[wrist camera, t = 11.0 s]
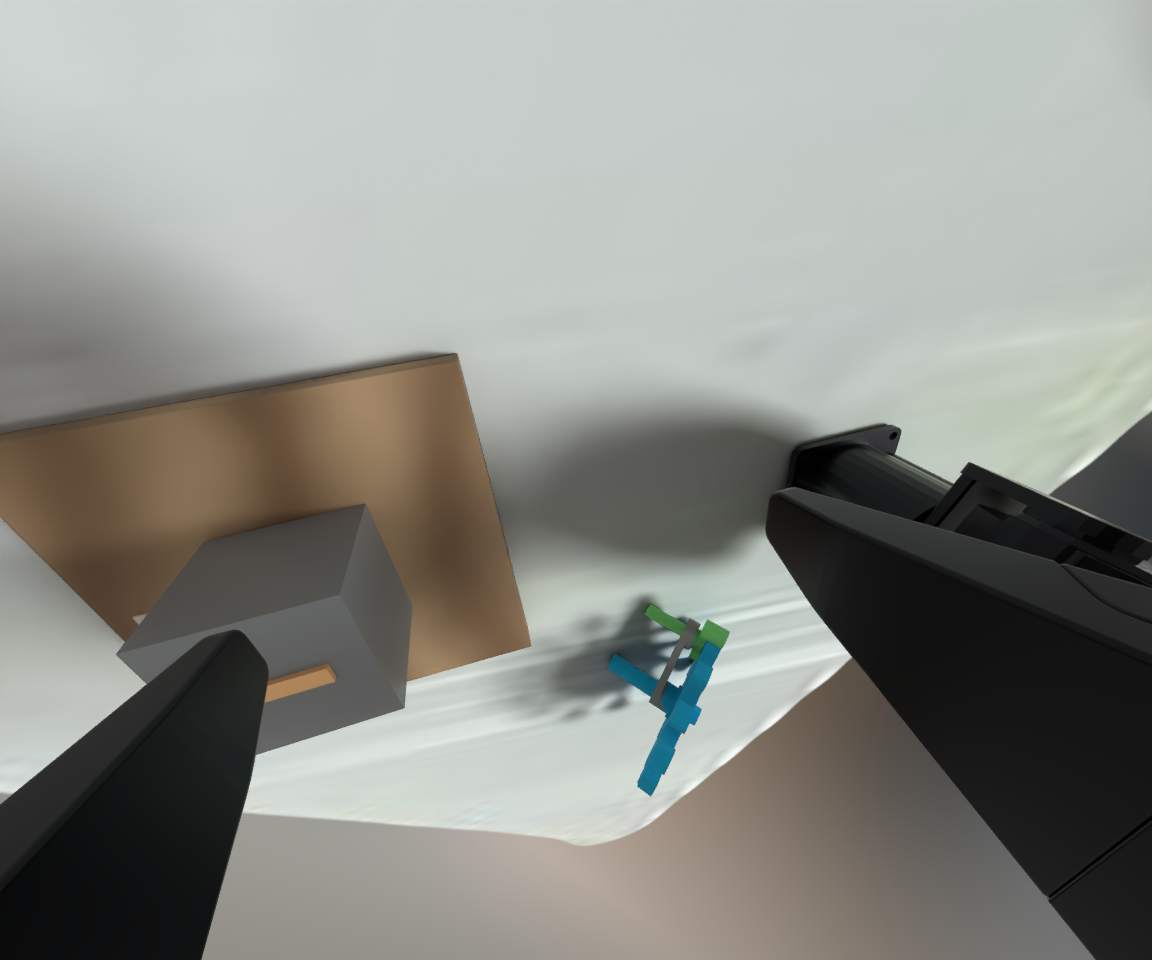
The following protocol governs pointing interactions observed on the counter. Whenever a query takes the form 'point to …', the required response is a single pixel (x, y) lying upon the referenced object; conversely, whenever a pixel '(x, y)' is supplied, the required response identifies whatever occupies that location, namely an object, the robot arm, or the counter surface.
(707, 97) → the counter surface
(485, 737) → the counter surface
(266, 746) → the grey box with handle
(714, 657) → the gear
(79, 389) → the counter surface
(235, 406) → the plate
